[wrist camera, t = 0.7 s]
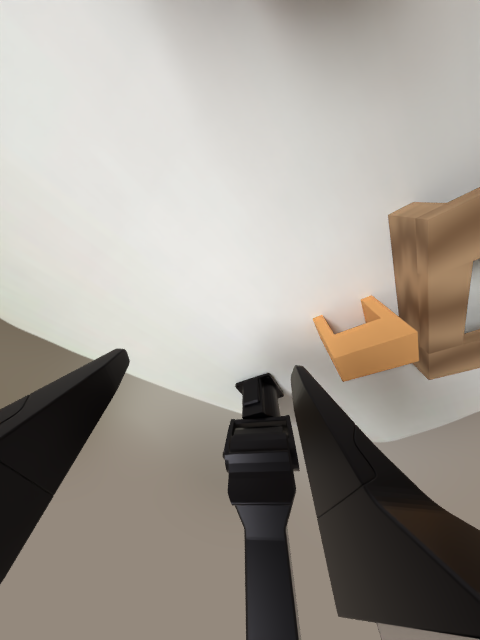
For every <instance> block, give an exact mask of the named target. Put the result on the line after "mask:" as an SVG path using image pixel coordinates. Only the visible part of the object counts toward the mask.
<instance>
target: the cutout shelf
mask: <svg viewBox="0 0 480 640" xmlns="http://www.w3.org/2000/svg"><path fill="white" fill-rule="evenodd" d="M388 218H389V228H390V237H391V246H392V255H393V264H394V274H395V283H396V292H397V301H398V310H399V317H400V318H401V319H402V320H403V321H405V322H406V323H407V324H408V325H410V326H411V327H412V328H413V329H415V330H416V331H417V332H418V350H419V361H418V362H414V363H413V364H414V365H415V366H416V367H417V368H418V370H419V371H420V372H421V373H422V374H423V375H424V376H425V377H426V378H427V379H428V380H431V379H435V378H440V377H444V376H448V375H452V374H456V373H460V372H464V371H469V370H473V369H477V368H480V329H479V330H476V331H472V332H469V333H465V334H464V329H465V321H466V313H467V305H468V297H469V289H470V281H471V273H472V265H473V261H474V260H477V259H479V258H480V187H479V188H477V189H475V190H473V191H471V192H469V193H467V194H465V195H463V196H460V197H458V198H456V199H454V200H452V201H450V202H448V203H423V202H413V203H411V204H409V205H407V206H405V207H403V208H401V209H399V210H397V211H395V212H393V213H391V214H389V215H388Z"/></svg>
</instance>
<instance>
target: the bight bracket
mask: <svg viewBox="0 0 480 640" xmlns="http://www.w3.org/2000/svg"><path fill="white" fill-rule="evenodd" d="M361 303H362V308H363V312H364V316H365V321H366V324H363V325H360V326H357V327H354V328H352V329H349V330H346V331H343V332H340V333H337V334H335V335H334V333H333V332H332V330H331V329H330V327H329V325H328V324H327V322H326V321H325V319H324V317H323V316H322V315H321V316H318V317H316V318H313V321H314V323H315V326H316V328H317V330H318V333H319V335H320V338H321V340H322V342H323V344H324V346H325V348H326V350H327V352H328V354H329V356H330V358H331V360H332V362H333V363H334V365H335V367H336V369H337V371H338V373H339V375H340V377H341V379H342V381H343V382H344V381H348V380H352V379H355V378H359V377H363V376H366V375H370V374H374V373H377V372H381V371H385V370H388V369H392V368H396V367H399V366H403V365H407V364H410V363H414V362H418V361H419V350H418V332H417V331H416V330H415V329H413V328H412V327H411V326H410V325H408V324H407V323H406V322H405V321H403V320H402V319H401V318H400V317H398V316H397V315H396V314H395V313H393V312H392V311H391V310H389V309H388V308H387V307H386V306H384V305H383V304H382V303H381V302H379V301H378V300H377V299H376V298H374V297H373V296H372V295H371V296H369V297H366V298H364V299H361Z"/></svg>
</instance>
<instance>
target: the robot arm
mask: <svg viewBox="0 0 480 640" xmlns="http://www.w3.org/2000/svg"><path fill="white" fill-rule="evenodd" d="M129 362H130V360H129V357H128V354H127V351H126V350H125V349H115V350H113V351H111V352H109V353H107V354H105V355H103V356H101V357H99V358H98V359H96V360H94V361H92V362H90V363H88V364H86V365H84V366H83V367H80V368H79V369H77V370H75V371H73V372H71V373H69V374H67V375H65V376H63V377H61V378H60V379H58V380H56V381H54V382H52V383H50V384H48V385H46V386H44V387H42V388H40V389H38V390H37V391H35V392H33V393H31V394H30V395H27V396H25V397H23V398H22V399H19V400H18V401H16V402H14V403H12V404H10V405H8V406H6V407H4V408H2V409H0V584H1V582H2V581H3V579H4V578H5V576H6V574H7V573H8V571H9V570H10V568H11V566H12V564H13V563H14V561H15V560H16V558H17V556H18V555H19V553H20V551H21V550H22V548H23V546H24V545H25V543H26V541H27V540H28V538H29V536H30V535H31V533H32V531H33V530H34V528H35V526H36V524H37V523H38V521H39V520H40V518H41V516H42V515H43V513H44V511H45V510H46V508H47V506H48V504H49V503H50V501H51V500H52V498H53V495H54V494H55V493H56V491H57V489H58V488H59V486H60V484H61V483H62V481H63V479H64V478H65V476H66V474H67V473H68V471H69V469H70V468H71V466H72V464H73V463H74V461H75V459H76V458H77V456H78V454H79V453H80V451H81V449H82V448H83V446H84V444H85V443H86V441H87V439H88V437H89V436H90V434H91V433H92V431H93V429H94V428H95V426H96V424H97V423H98V421H99V419H100V418H101V416H102V414H103V413H104V411H105V409H106V408H107V406H108V404H109V403H110V401H111V399H112V398H113V396H114V394H115V392H116V391H117V389H118V387H119V385H120V383H121V381H122V378H123V376H124V374H125V372H126V370H127V368H128V366H129ZM235 387H236V388H237V389H238V390H239V392H240V393H241V394H242V395H243V399H242V405H243V410H242V418H243V419H238V420H235V419H231V422H230V425H229V429H228V434H227V439H226V443H225V448H224V452H223V458H224V459H225V465H226V470H227V472H228V473H229V480H228V495H229V498H230V501H231V504H232V505H235V507H236V509H237V512H238V514H239V517H240V519H241V522H242V524H243V526H244V529H245V587H246V589H245V590H246V640H301V635H300V627H299V619H298V610H297V602H296V595H295V586H294V578H293V570H292V562H291V554H290V546H289V538H288V529H287V523H288V519H289V516H290V512H291V508H292V504H293V500H294V497H295V493H296V485H295V480H294V474H293V471H300V470H299V463H298V457H297V452H296V446H295V441H294V436H293V431H292V426H291V421H290V416H289V415H286V416H280V411H279V404H278V398H280V397H283V396H284V394H283V392H282V390H281V389H280V387H279V386H278V385H277V383H276V382H275V380H274V379H273V377H272V376H271V375H270V374H269V373H266V374H263V375H260V376H257V377H254V378H251V379H248V380H245V381H242V382H239V383H236V386H235ZM291 387H292V397H293V406H294V412H295V417H296V422H297V426H298V431H299V436H300V440H301V444H302V449H303V454H304V459H305V464H306V468H307V473H308V478H309V482H310V487H311V491H312V496H313V501H314V506H315V510H316V515H317V518H318V519H317V520H318V525H319V530H320V534H321V539H322V544H323V548H324V553H325V558H326V562H327V567H328V572H329V577H330V581H331V585H332V591H333V595H334V600H335V605H336V609H337V613H338V616H339V617H343V618H350V619H356V620H362V621H368V622H375V623H377V626H378V630H379V633H380V636H381V640H480V530H478V529H476V528H475V527H473V526H471V525H469V524H468V523H466V522H464V521H463V520H461V519H459V518H458V517H456V516H454V515H452V514H451V513H449V512H448V511H446V510H445V509H443V508H442V507H440V506H439V505H438V504H436V503H435V502H434V501H432V500H431V499H430V498H429V497H428V496H427V495H425V494H424V493H423V492H422V491H421V490H420V489H419V488H418V487H417V486H416V485H415V484H414V483H413V482H412V481H411V480H410V479H409V478H408V477H407V476H406V475H405V474H404V473H402V471H401V470H400V469H399V468H397V467H396V466H395V465H394V464H393V463H392V462H391V461H390V460H389V459H388V458H387V457H386V456H385V455H384V454H383V453H382V452H381V451H380V450H379V449H378V448H377V447H376V446H375V445H374V444H373V443H372V442H371V440H370V439H369V438H368V437H367V436H366V435H365V434H364V433H363V432H362V431H361V430H360V429H359V427H358V426H357V425H355V423H354V422H353V421H352V420H351V419H350V418H349V416H348V415H347V414H346V413H345V412H344V411H343V410H342V409H341V408H340V407H339V405H338V404H337V403H336V402H335V401H334V400H333V399H332V398H331V397H330V395H329V394H328V393H327V392H326V391H325V390H324V389H323V388H322V387H321V385H320V384H319V383H318V382H317V381H316V380H315V379H314V378H313V377H312V376H311V374H310V373H309V372H308V371H307V370H306V369H305V368H304V367H303V366H297V365H296V366H295V367H294V369H293V372H292V374H291Z"/></svg>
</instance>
